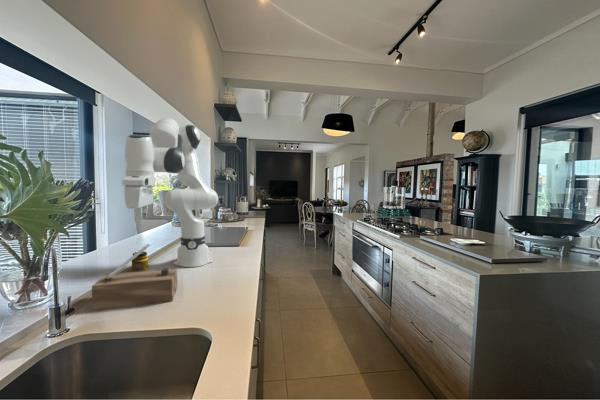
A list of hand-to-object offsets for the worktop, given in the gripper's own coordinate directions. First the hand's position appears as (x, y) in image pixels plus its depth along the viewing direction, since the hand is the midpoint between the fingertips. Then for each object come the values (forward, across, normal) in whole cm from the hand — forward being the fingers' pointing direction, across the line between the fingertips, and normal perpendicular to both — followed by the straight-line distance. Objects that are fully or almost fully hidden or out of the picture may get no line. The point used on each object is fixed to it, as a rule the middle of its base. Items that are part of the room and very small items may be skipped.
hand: (141, 218), depth 95 cm
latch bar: (+16, 0, -4) cm, 16 cm away
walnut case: (+29, 0, -2) cm, 29 cm away
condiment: (+29, -19, -7) cm, 36 cm away
